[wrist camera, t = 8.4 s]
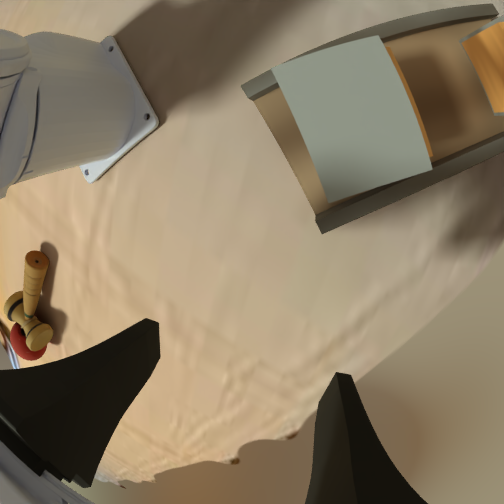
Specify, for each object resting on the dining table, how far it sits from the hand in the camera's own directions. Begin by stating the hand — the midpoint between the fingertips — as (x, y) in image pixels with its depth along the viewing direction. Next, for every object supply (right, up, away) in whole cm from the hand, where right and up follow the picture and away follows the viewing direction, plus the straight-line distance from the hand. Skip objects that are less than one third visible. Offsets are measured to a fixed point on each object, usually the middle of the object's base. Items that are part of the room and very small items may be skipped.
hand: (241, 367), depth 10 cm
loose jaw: (+5, +11, +3) cm, 13 cm away
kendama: (-27, -2, +18) cm, 32 cm away
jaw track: (+10, +14, +2) cm, 17 cm away
